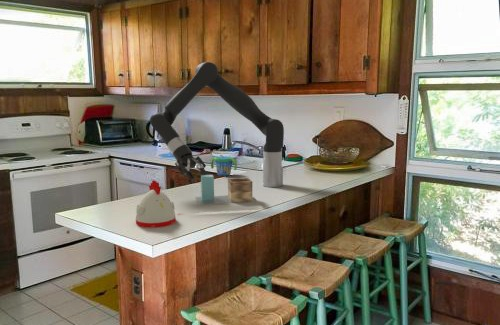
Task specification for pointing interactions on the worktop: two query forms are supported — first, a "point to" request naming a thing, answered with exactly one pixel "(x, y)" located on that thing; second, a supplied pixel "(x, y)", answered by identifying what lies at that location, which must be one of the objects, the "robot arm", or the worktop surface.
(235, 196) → the wooden crate
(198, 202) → the baseplate
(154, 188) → the kitchen timer
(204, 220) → the worktop surface
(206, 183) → the teal brick
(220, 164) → the snack cup
